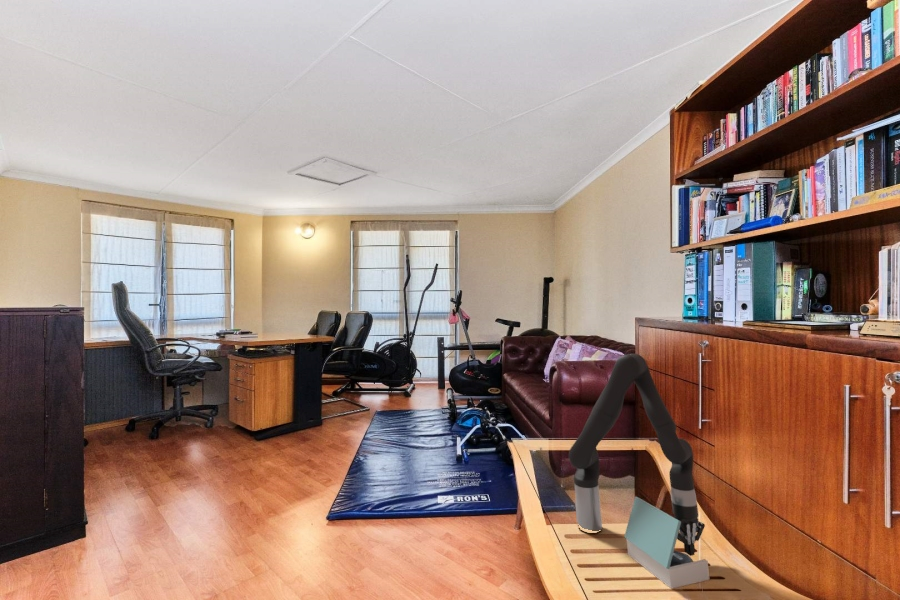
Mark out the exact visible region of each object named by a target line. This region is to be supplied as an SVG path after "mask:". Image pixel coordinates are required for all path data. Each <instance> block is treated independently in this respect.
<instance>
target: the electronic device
mask: <svg viewBox="0 0 900 600" xmlns="http://www.w3.org/2000/svg"><path fill="white" fill-rule="evenodd" d="M690 562H694V560H693V559H692V557H691V556H690V555H688V554H687V553H686V552H681V551H679V550H674V552H673V556H672V560H671V564H670V567H672V566H676V565H681V564H685V563H690Z"/></svg>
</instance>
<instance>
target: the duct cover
mask: <svg viewBox="0 0 900 600" xmlns="http://www.w3.org/2000/svg"><path fill="white" fill-rule="evenodd" d="M630 511H631V512H630V513H629V514H630V515H629V518H628V522H627V526H626V529H625V534H624V538H625V539H626V540H627V539H628V540H629V541H630V542H632V543H633V544H634V545H636V546H637V547H638V548H640V549H641V550H642V551H644V552H645V553H647V554H648V555H649V556H651V557H652V558H653V559H655V560H656V561H657V562H659V563H660V564H661V565H663V566H664V567H665V568H667V569H669V568H670V564H671V560H672V556H673V552H674V551H675V547H676V545H677V544H676V543H677V541H678V539H677V536H678V532H679V529H680V525H681V521H679V520H677V519H675V516H672V515H671V514H668V513H667V512H664V511H663V510H661V509H659V508H657V507H656V506H654V505H652V504H650V503H649V502H647V501H645V500H644V499H641V498H640V497H638V496H635V497H634V500H633V504H632V508H631V510H630Z"/></svg>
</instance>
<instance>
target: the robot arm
mask: <svg viewBox="0 0 900 600" xmlns="http://www.w3.org/2000/svg"><path fill="white" fill-rule="evenodd" d="M647 363H648V362H647V361H646V359H645V358H644V357H643V356H642V355H640V354H638V353H626V354H623V355H621V356H620V357H618V358H617V359H616V361H615V364H614V366H613V369H612V371H611V372H610V376H609V379H608V381H607V383H606V385H605V387H604V388H603V390H602V392H601V393H600V395H599V397H598V399H597V400H596V402H595V404H594V406H593V407H592V410H591V411H590V413H589V416H588V418H587V420H586V422H585V424H584V426H583V429H582V431H581V433H580V434H579V436H578V437H577V439H576V440H575V441H574V443H573V444H572V446H571V447H570V449H569V451H568V460H569V462H570V464H571V466H572V467H574V468H576V471H575V473H574V476H573V483H574V484H573V485H574V495H575V499H574V505H575V515H576V518H577V519H576V523H577V522H578V524H579V525H580V526H581V527H582V528H584V529H588V530H592V531H599V530H601V529H602V530H603V524H602V512H601V511H602V509H601V501H600V499H601V498H600V488H599V479H600V458H599V452H598V450H597V449H598V448H597V447H598V445H599V443H600V442H601V441H602V440H603V439H604V437H605V436H607V435H608V433H610V430H612V428H613V427H614V425H615V424H616V422H617V421H618V419H619V417H620V414H621V412H622V409H623V405H624V399H625V397H626V396H625V395H626V394H627V392H628V390H629V388H630V387H631V385H632V384H633V383H634V384H635V385H636V388H637V389H638V392H639V394H640V397H641V401H642V403H643V408H644V411H645V414H646V416H647V418H648V421H650V424H651V425H652V427H653V430H654V431H655V433H656V436H657V440H658V444H659V446H660V449H661V451H662V453H663V455H664V456H665V458H666V459H667V460H668V461H669V462H670V463H671V467H670V469H669V475H668V476H669V484H670V499H671V507H672V514H673V515H674V516H673V517H674V518H675V519H677V520H679V521H681V525H680V529H679V532H678V536H677V541H679V542H681V543H682V544H683V547H684V548H683V549H684V553H685V554H687V555H689V556H690V557H691V556H695V553H696V548H695V543H696V541H697V542H698V541H699V540H700V539H701V536H702V533H703V532H704V529H705V527H706V525H705V523H703V522H702V521H700V520H699V511H698V510H699V509H698V501H697V495H696V490H695V483H694V476H693V469H694V468H693V467H694V452H693V447H692V446H691V444H690V443H689V442H688V440H685V439H683V438H679V437H678V435H677V426H676V425H677V424H676V422H675V421H674V419H673V418H672V415H671V414H670V412H669V410H668V408H667V407H666V404H665V403H664V401H663V399H662V397H661V396H660V393H659V391H658V388H657V387H656V384H655V382H654V380H653V376H652V374H651V371H650V368H649V366H648V364H647Z"/></svg>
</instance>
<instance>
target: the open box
mask: <svg viewBox="0 0 900 600" xmlns="http://www.w3.org/2000/svg"><path fill="white" fill-rule="evenodd" d="M626 546H627V555H628V556H629V557H630V558H632V559H633V560H635V562H637V563H638V564H639V565H641V566H642V567H643V568H645V570H647V571H648V572H649V573H651V574H652V575H653V576H655V577H656V578H657V579H658V580H659V581H661V582H662V583H664V584H665V586H667V587H668V588H670V589H676V588H680V587H683V586H688V585H692V584H695V583H697V584H698V583H700V582H705V581H709V580H710V571H709V563H708V560H707V559H705V558H704V559H700V560H699V559H698V560H696V561H694V560H693V562H690V563H685V564H681V565H676V566H672V567H670V568H669V569H667V568H665V567H664V566H663V565H661V564H660V563H659V562H657V561H656V560H655V559H653V558H652V557H651V556H649V555H648V554H647V553H645V552H644V551H642V550H641V549H640V548H638V547H637V546H636V545H634V544H633V543H632V542H630V541H629V540H628V539H626Z"/></svg>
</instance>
